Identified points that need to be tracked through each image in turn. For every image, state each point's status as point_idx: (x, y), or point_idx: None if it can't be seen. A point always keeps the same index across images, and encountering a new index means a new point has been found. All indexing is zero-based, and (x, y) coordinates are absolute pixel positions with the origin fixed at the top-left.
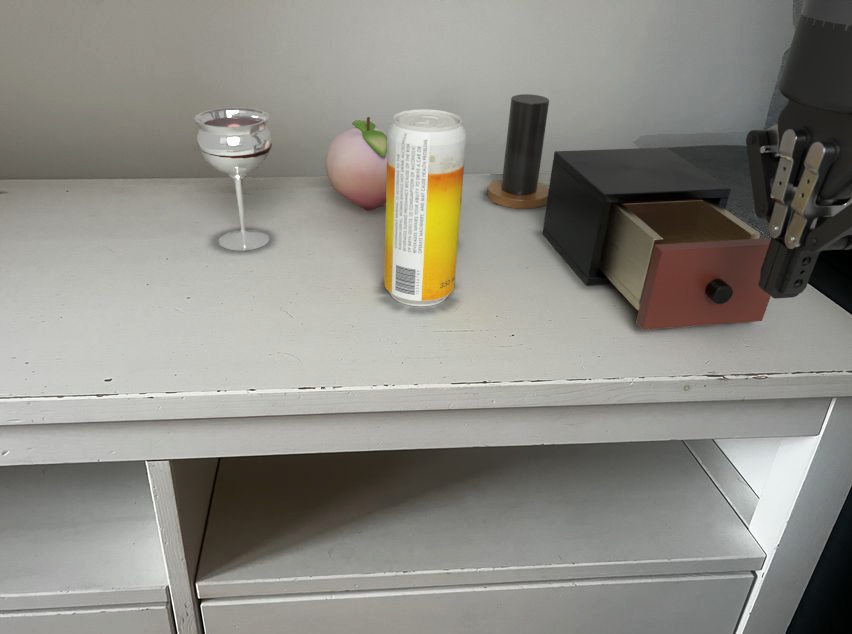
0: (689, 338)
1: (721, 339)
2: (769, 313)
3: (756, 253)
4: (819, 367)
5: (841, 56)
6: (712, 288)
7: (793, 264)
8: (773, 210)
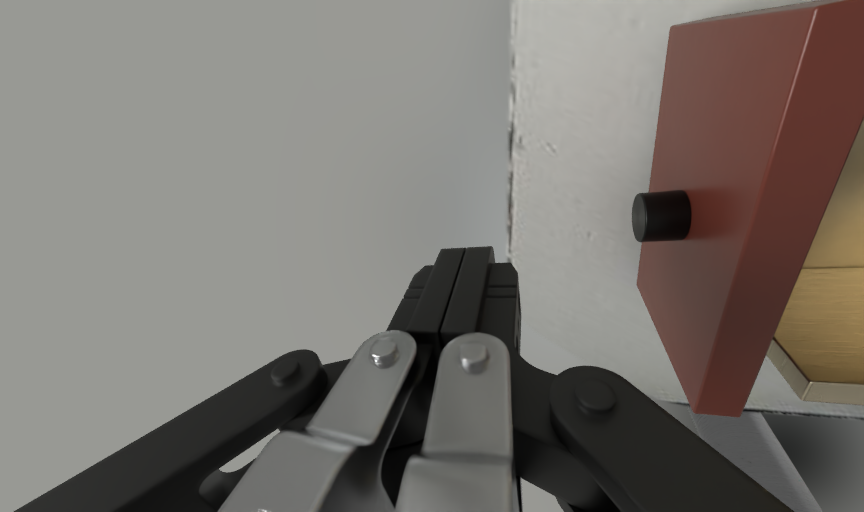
0: (638, 147)
1: (620, 204)
2: None
3: (701, 338)
4: None
5: None
6: (662, 201)
7: (398, 315)
8: (510, 414)
